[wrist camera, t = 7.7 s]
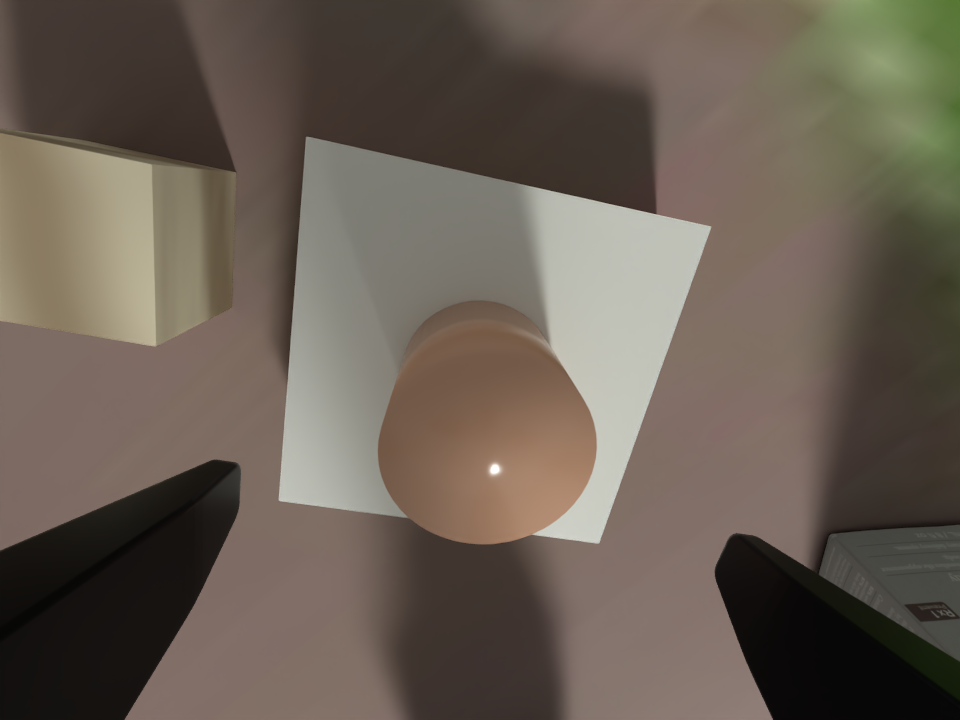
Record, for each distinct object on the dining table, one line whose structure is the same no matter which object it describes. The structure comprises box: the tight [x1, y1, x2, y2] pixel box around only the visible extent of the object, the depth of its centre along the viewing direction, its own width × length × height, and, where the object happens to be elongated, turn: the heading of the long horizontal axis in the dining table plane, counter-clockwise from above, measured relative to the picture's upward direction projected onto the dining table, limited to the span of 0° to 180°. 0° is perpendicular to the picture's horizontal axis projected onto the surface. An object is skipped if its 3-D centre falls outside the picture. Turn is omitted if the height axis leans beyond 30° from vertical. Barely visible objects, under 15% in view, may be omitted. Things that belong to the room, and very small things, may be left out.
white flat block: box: [279, 136, 711, 543], centre depth 17 cm, size 12×12×4 cm
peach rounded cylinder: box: [378, 301, 597, 544], centre depth 13 cm, size 5×5×5 cm
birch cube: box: [0, 128, 236, 346], centre depth 15 cm, size 5×5×5 cm
